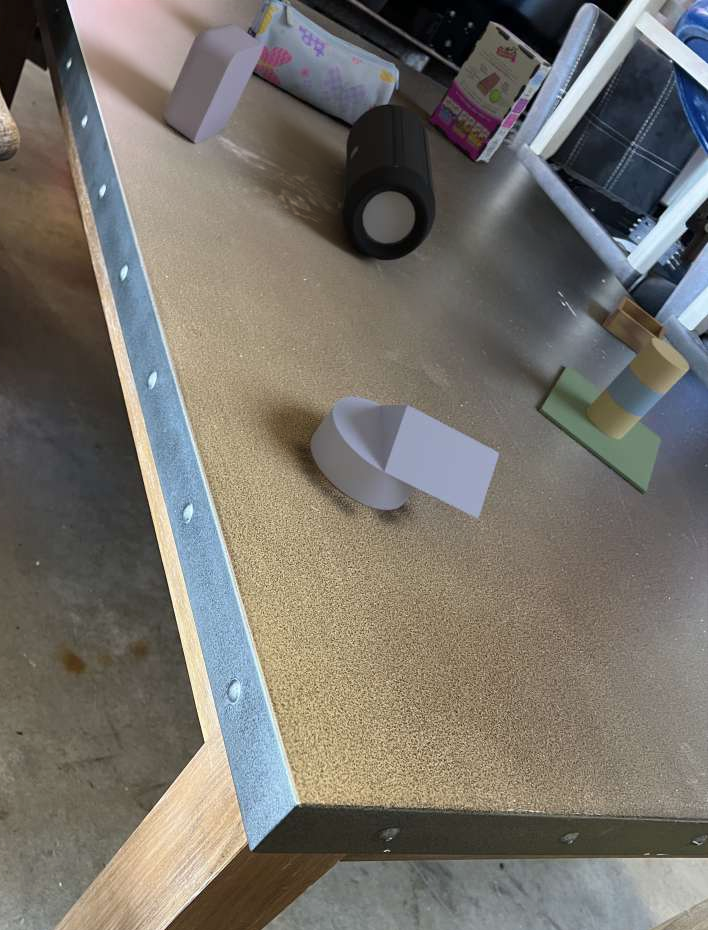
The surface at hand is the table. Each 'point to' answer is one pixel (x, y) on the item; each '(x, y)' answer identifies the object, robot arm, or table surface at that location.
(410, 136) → the portable speaker
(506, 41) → the popsicle box
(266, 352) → the table surface
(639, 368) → the tape stack
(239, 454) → the table surface
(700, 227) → the robot arm
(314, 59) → the pencil case
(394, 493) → the wedge on round base
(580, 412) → the mat
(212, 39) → the mauve upright block
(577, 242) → the table surface
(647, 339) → the holder
